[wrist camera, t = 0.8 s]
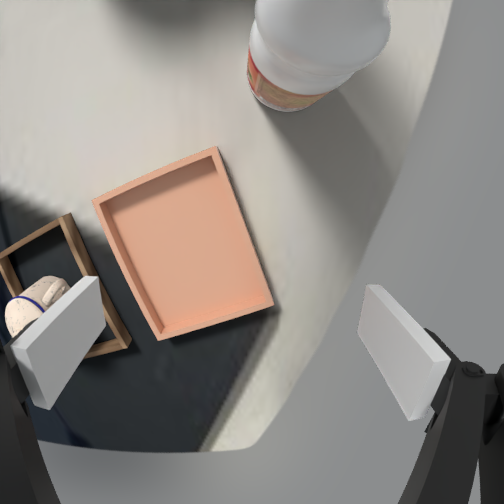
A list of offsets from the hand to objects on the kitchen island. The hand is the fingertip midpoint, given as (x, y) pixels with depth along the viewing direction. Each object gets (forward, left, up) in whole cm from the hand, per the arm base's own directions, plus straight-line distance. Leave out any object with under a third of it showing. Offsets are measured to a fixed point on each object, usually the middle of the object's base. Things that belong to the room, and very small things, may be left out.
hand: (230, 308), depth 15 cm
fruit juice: (-14, +11, -26) cm, 31 cm away
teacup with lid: (+2, -30, -26) cm, 39 cm away
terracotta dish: (+2, -8, -25) cm, 27 cm away
